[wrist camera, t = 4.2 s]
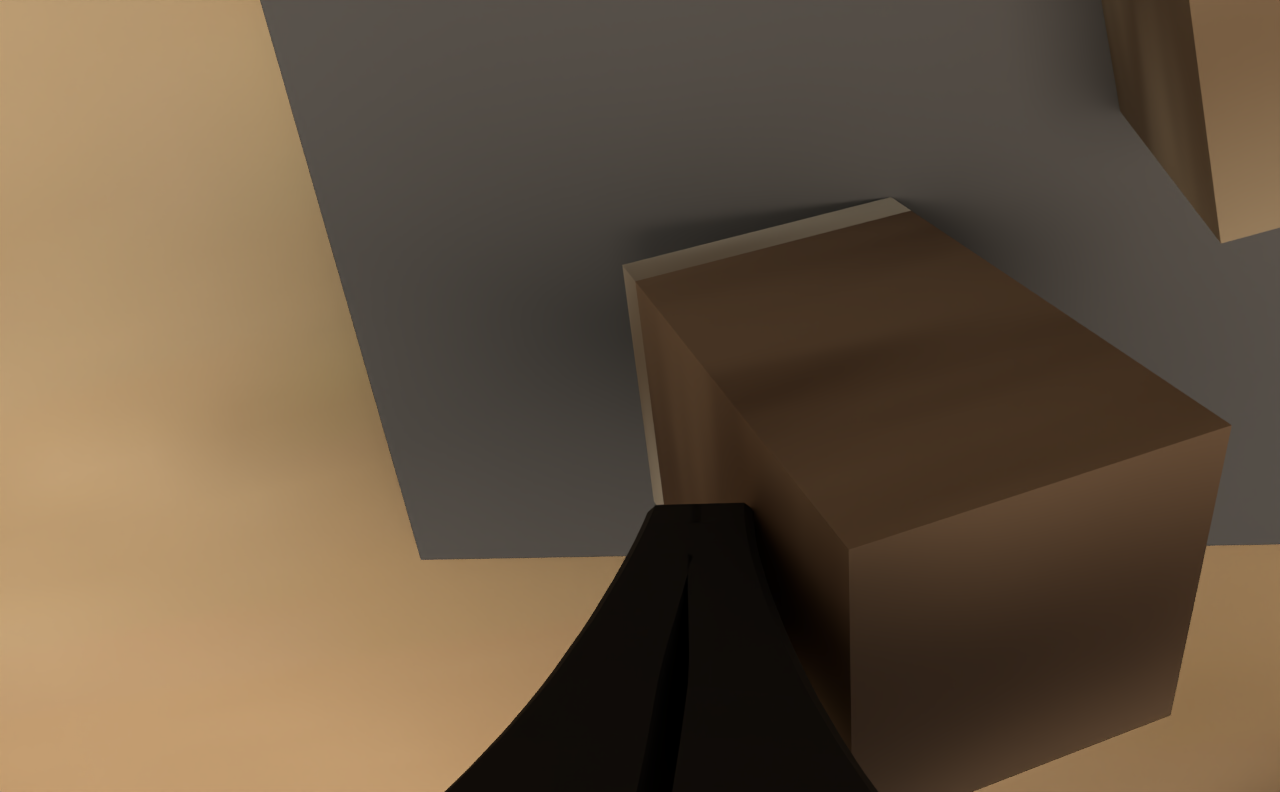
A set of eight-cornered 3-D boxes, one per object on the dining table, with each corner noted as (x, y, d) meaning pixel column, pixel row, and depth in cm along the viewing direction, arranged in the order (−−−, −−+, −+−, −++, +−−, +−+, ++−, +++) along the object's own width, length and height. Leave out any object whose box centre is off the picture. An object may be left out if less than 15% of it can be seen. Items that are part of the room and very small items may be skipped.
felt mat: (1384, 531, 20) (1392, 542, 20) (424, 549, 23) (420, 559, 22) (1694, -428, 13) (1711, -429, 12) (202, -235, 15) (193, -233, 15)
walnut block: (888, 430, 20) (1170, 715, 14) (653, 501, 19) (853, 838, 13) (890, 196, 17) (1231, 424, 12) (622, 264, 16) (848, 549, 11)
